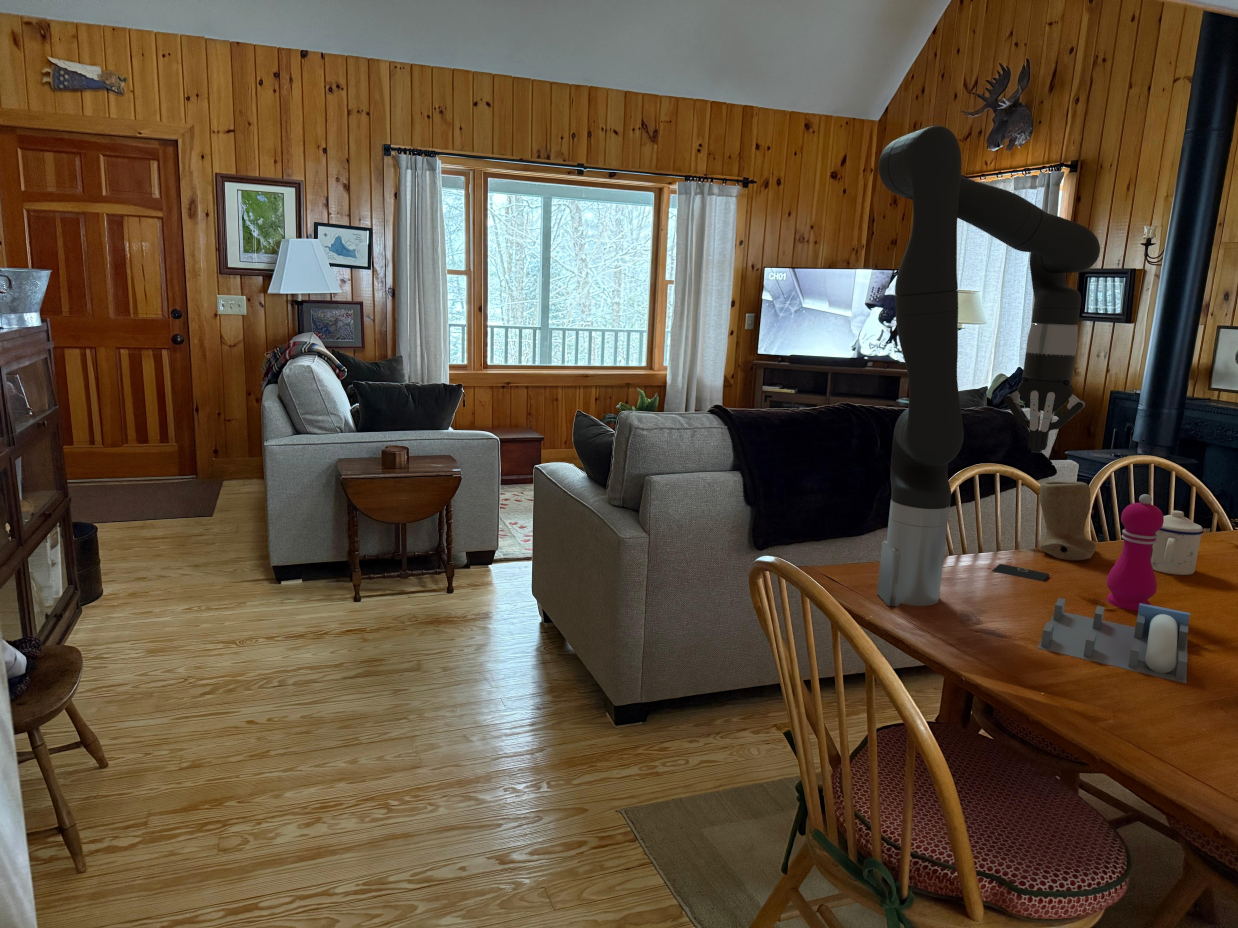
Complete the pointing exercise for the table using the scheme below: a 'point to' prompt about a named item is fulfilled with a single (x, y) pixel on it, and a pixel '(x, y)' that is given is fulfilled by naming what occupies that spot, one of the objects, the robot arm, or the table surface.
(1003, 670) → the table surface
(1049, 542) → the sheepskin slipper boot
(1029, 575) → the cell phone
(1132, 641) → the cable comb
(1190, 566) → the teacup with lid
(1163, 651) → the white rounded capsule
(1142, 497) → the pepper mill
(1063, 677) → the table surface
